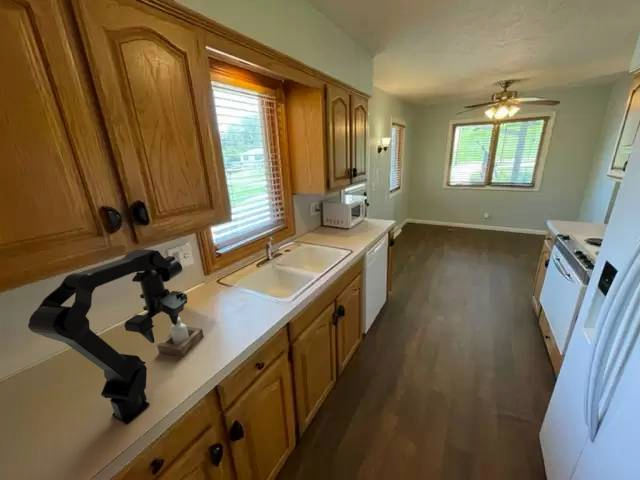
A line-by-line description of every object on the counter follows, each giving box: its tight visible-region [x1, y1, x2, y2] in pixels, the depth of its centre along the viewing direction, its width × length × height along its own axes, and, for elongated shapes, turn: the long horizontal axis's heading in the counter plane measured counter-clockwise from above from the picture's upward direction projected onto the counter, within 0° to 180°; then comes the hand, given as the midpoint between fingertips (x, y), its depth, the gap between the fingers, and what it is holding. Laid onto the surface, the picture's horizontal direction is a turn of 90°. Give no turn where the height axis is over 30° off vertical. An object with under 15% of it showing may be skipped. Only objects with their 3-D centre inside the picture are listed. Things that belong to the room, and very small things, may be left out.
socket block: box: [157, 325, 204, 359], centre depth 100 cm, size 12×10×4 cm
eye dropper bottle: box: [169, 316, 189, 346], centre depth 99 cm, size 4×6×12 cm
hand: (164, 333), depth 87 cm, fingers open, 9 cm apart
